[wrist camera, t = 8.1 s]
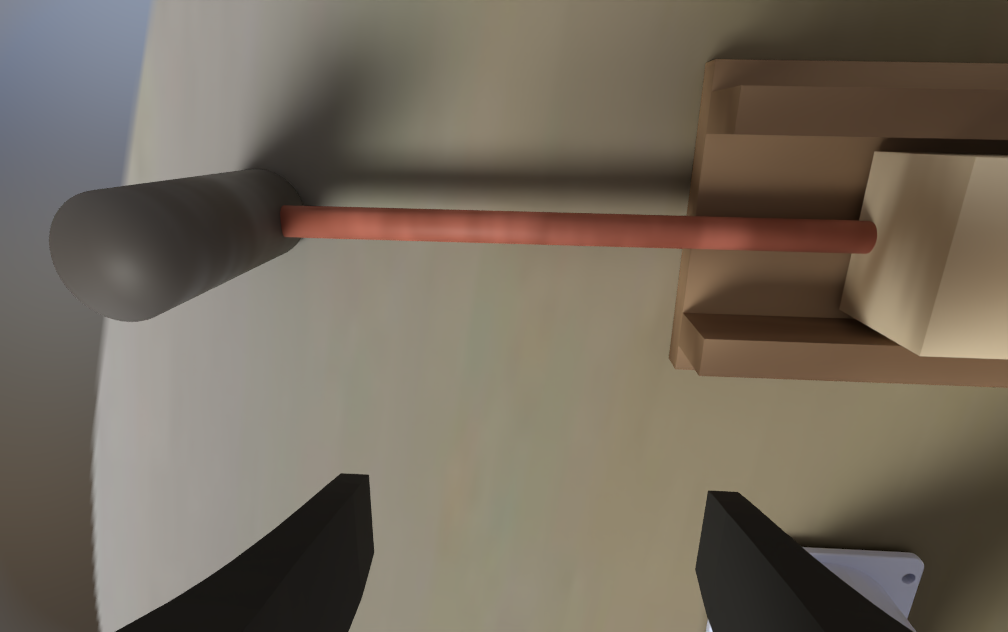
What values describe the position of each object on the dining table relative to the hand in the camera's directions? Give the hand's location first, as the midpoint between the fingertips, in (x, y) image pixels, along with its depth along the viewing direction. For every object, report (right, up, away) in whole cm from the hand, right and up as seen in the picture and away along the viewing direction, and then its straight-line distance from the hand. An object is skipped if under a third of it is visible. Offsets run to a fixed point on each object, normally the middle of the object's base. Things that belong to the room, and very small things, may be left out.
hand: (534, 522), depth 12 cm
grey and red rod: (+3, +7, +7) cm, 11 cm away
